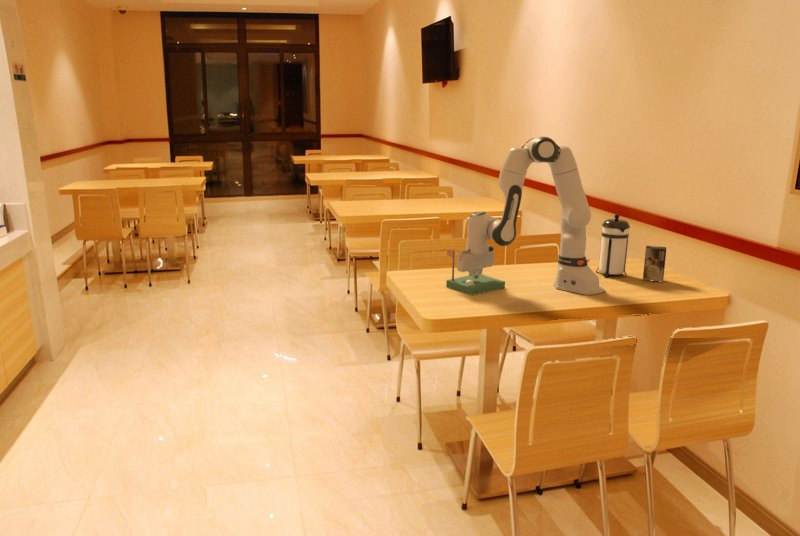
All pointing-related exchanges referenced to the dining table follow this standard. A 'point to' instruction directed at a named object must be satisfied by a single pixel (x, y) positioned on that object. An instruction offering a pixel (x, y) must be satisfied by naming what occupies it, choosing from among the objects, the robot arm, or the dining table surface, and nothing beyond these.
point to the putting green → (479, 284)
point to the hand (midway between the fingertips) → (475, 278)
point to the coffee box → (654, 263)
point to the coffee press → (614, 246)
